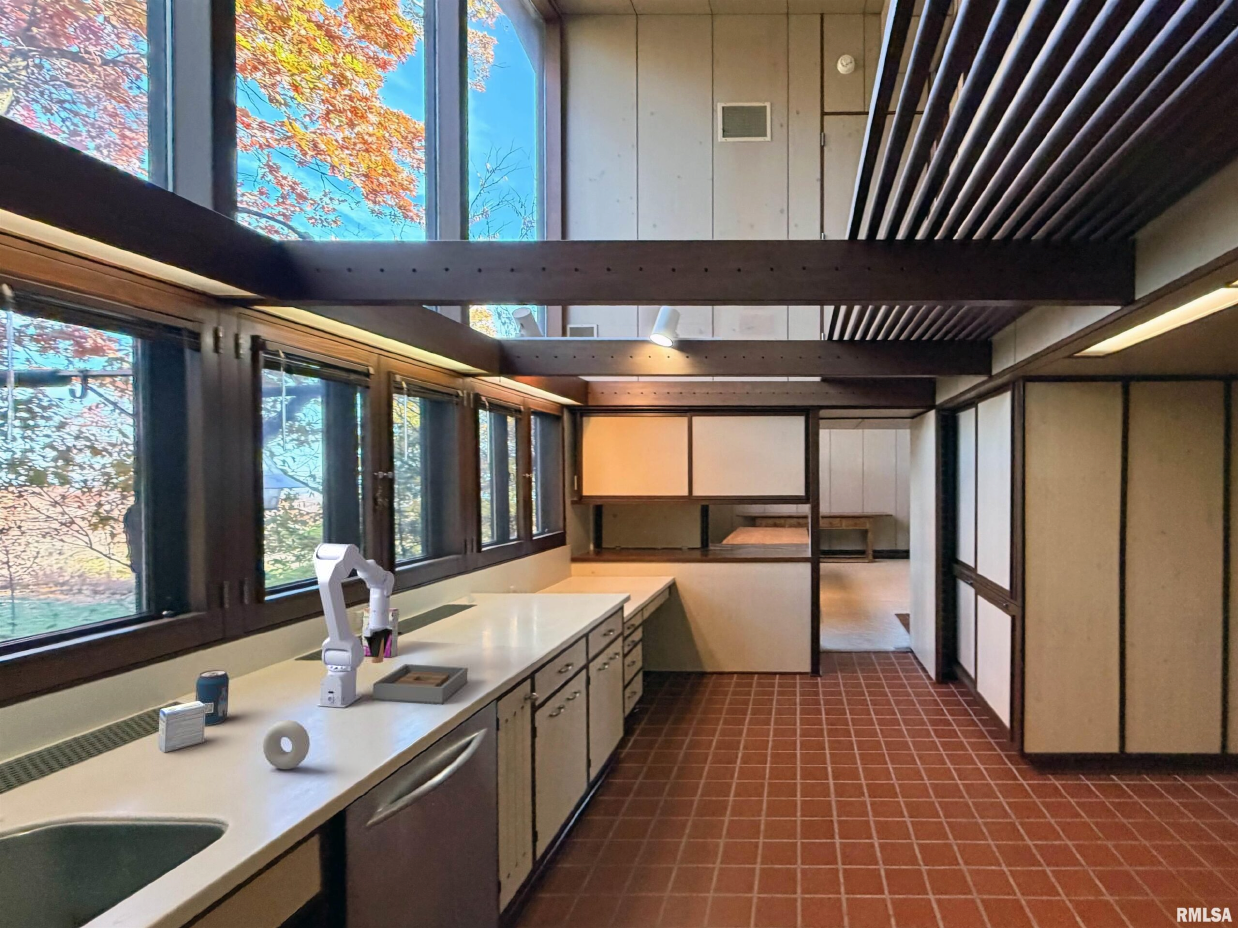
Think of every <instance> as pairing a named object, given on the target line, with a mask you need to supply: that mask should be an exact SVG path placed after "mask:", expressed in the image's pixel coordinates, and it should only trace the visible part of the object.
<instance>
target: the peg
mask: <svg viewBox="0 0 1238 928" xmlns="http://www.w3.org/2000/svg"><path fill="white" fill-rule="evenodd" d="M383 649H384V638H383V639H382V642H381V645H380V652H379V656H378V657H371V663H373V664H380V663H383V662H384V657H383Z"/></svg>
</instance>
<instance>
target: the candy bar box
mask: <svg viewBox="0 0 1238 928" xmlns="http://www.w3.org/2000/svg"><path fill="white" fill-rule="evenodd" d="M369 611H370V606H368V607H365V608H363V609H362V625H361V627H362V628H361V645H362V646H363V648H364V651H365V655H364V657H369V656H370V658H372V657H371V655H370V650H369V646H368V643H367V641H366V639H365V638H364V630H365V629H366V628H367V626H368V625H369ZM399 612H400V608H399V607H398V608H397V607H389V620H393V626H392V627H391V628H388V629H392V630H393V632H392V634H391V635H390V637H389V640H388V642H387V646H386V649H385V653H384V654H383V658H386V659H387V658H388V659H392V658H394V657H395V656H397V655H398V640H399V639H398V638H399V637H398V634H399V614H400V613H399Z"/></svg>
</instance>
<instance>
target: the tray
mask: <svg viewBox="0 0 1238 928" xmlns="http://www.w3.org/2000/svg"><path fill="white" fill-rule="evenodd" d="M412 671H413V672H429V673H445V674H450V680H448V681H447V682H446V683H445V684H443V685H442V686H441V687H434V686H419V685H403V684H394V683H395V682H397V681H398V680H400V679H401V678H403V677H404V676H406V675H407V674H409V673H410V672H412ZM468 672H469V671H468V667H460V666H458V667H457V666H444V665H442V666H441V665H429V664H428V665H426V664H412V663H411V664H410V663H409V664H408V663H404V664H403V665H402V666H400V667H398V668H396V669H395V670H394V671H392V672H390V673H388V674H387V675H385V676H384V677H382V678H380V679H379V680H376V681H375V682H374V683H373V685H372V701H381V702H396V703H397V702H398V703H408V704H409V703H410V704H411V703H412V704H422V703H423V704H427V705H431V704H430V703H433V704H432V705H437V704H442V705H443V704H445V703H446V702H447V701H448V700H449V699H450V698H451V697H453V696H454V695H455V694H456V693H458V691H459V690H461V689H462V688H463V687H464V686H465V685H466V684H467V683H468ZM453 694H454V695H453ZM452 695H453V696H452ZM445 701H446V702H445ZM444 702H445V703H444ZM428 703H429V704H428Z"/></svg>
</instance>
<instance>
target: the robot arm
mask: <svg viewBox="0 0 1238 928" xmlns="http://www.w3.org/2000/svg"><path fill="white" fill-rule="evenodd" d="M312 562H313V566H314V571H315V575H316V577H317V585H318V589H319V594H320V599H321V604H322V608H323V613H324V618H325V623H326V626H327V631H328V632H327V633H328V637H327V638H326V639H325V640H324V641H323V642H322V644H321V649H322V653H321V661H322V664H323V665H324V666H325V669H326V670H328V671H327V674H326V675H325V676H324V677H323V678H322V680H321V683H320V702H318V703H317V704H316V705H317V706H318V707H330V708H331V707H332V708H346V707H348V706H350V705H351V704H353V703H354V702H355V701H357V700H358V699H360V698H362V697H363V695H362V694H357V693H356V692H357V673H358V672H357V671H358V670H357V669H358V668H359V667H360V666H361V664H362V663H363V662H364V660H365V659H364V658H365V656H364V655H365V651H364V648H363V646H362V642H361V640H360V638H359V637H358V636H357V635H356V634H354V633H353V632H351V628H350V623H349V618H348V617H349V616H348V613H347V608H346V607H347V606H346V602H345V599H344V593H343V587H342V581H343V580H346V579H347V578H348V577H349V575H350V574H351V572H352V570H353V569H355V570H356V573H357V576H358V577H359V578H361V580H363V581H364V582H365V583H366V588H367V589H369V590H370V591H369V592H370V593H369V607H370V611H369V625H368V626H367V628H366V629H365V630H364V638H365V639H366V641H367V643H368V646H369V650H370V655H371V657H370V658H372V657H378V656H379V652H380V645H381V642H382V639H383V638H384V649H383V654H384V653H385V649H386V646H387V642H388V640H389V637H390V635H391V634H392V632H393V630H392V629H388V628H391V627H392V626H393V620H389V608H391V607H390V603H391V596H392V593H393V588H394V585H395V577H394V574H393V573H392V572H391V571H388V570H384V569H383V567H382V566H380V565H378V564H377V563H376V562H377V561H376V560H374V559H367V560H366V558H364V557H363V555H362V554H361V553H360V548H359V547H357V546H356V544H354V543H349V544H345V543H344V544H343V543H341V544H340V543H327V542H320V543H318V545H317V547H316V548H315V551H314V553H313V555H312Z"/></svg>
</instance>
